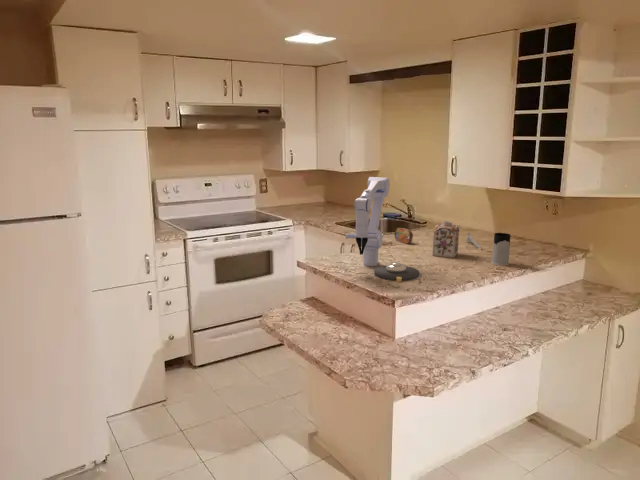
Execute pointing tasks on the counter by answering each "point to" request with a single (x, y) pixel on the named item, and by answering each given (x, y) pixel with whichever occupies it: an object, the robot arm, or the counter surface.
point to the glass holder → (501, 249)
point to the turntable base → (408, 280)
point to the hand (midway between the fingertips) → (361, 254)
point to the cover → (396, 268)
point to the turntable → (408, 275)
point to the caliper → (470, 239)
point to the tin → (403, 235)
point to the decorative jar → (445, 240)
